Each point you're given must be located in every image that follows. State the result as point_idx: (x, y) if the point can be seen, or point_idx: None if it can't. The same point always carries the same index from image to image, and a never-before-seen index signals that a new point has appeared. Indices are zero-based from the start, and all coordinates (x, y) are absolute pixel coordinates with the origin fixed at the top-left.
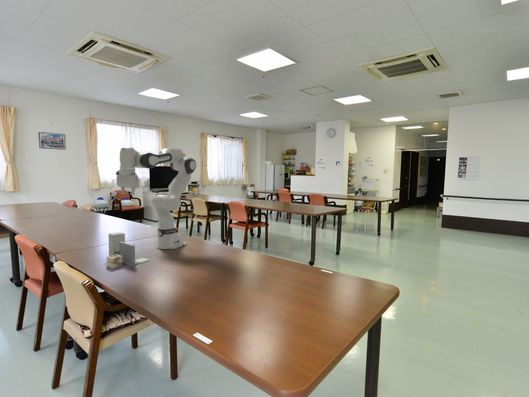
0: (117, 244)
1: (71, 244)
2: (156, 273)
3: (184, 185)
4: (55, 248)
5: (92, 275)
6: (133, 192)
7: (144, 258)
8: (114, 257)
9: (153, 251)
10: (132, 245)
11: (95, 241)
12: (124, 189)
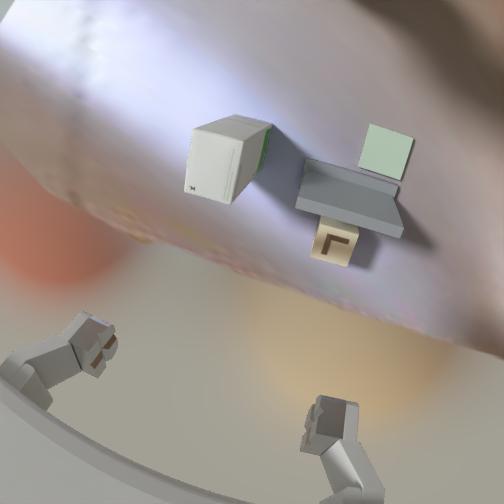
0: (251, 169)
1: (25, 133)
2: (496, 242)
3: None
4: (37, 178)
5: (339, 303)
6: (350, 442)
7: (382, 130)
8: (345, 256)
9: (326, 19)
10: (398, 236)
11: (34, 71)
12: (41, 358)
